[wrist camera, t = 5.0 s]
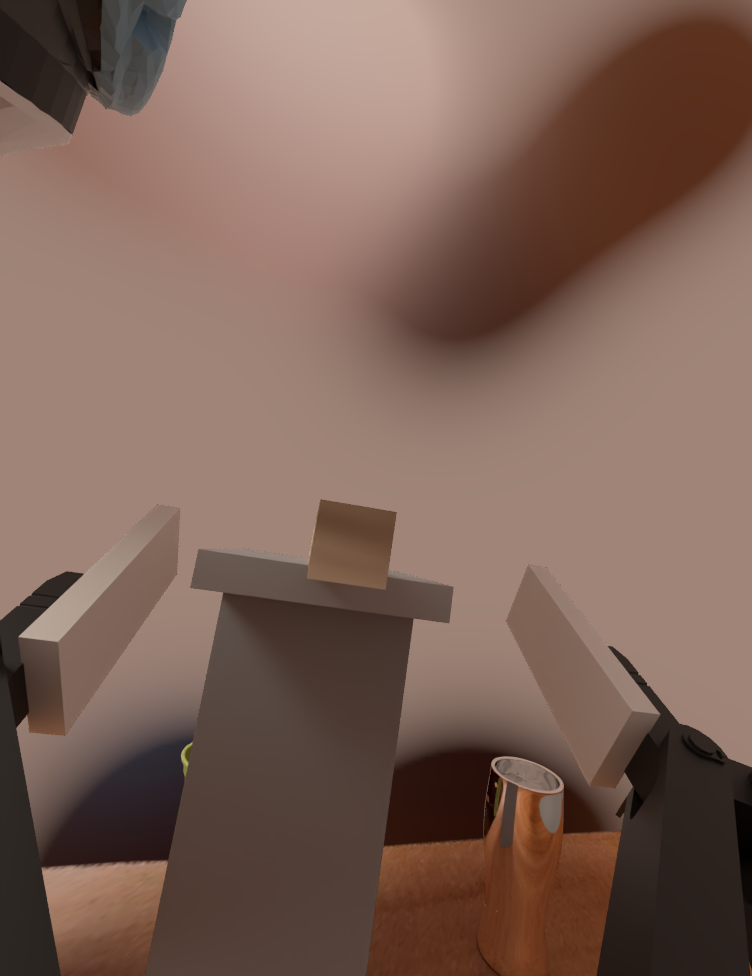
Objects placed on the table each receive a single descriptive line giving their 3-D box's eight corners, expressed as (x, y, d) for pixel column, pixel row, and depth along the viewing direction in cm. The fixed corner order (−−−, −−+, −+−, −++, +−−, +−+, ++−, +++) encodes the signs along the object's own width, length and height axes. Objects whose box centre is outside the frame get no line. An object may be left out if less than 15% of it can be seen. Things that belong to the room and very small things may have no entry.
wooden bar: (385, 589, 13) (396, 512, 14) (306, 578, 13) (320, 499, 14) (335, 562, 39) (340, 535, 39) (308, 558, 39) (313, 531, 39)
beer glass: (498, 908, 43) (513, 750, 46) (566, 965, 38) (579, 782, 40) (456, 940, 39) (474, 763, 41) (527, 1009, 33) (543, 801, 36)
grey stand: (366, 1317, 19) (453, 586, 24) (25, 1344, 17) (198, 549, 22) (340, 967, 34) (396, 571, 40) (161, 962, 33) (244, 548, 38)
